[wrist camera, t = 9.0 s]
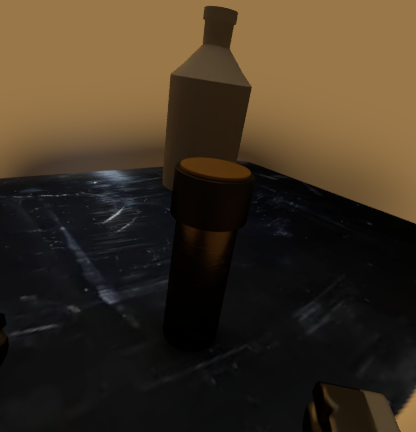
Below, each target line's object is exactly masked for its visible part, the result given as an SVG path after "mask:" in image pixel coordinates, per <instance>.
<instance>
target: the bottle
mask: <svg viewBox="0 0 416 432" xmlns="http://www.w3.org/2000/svg"><path fill="white" fill-rule="evenodd" d="M237 15H238V13H237V12H236V11H234V10H231V9H228V8H223V7H217V6H207V7H205V9H204V17H203V19H204V20H205V27H204V37H203V45H202V46H201V47H200V48H199V49H198V50H197V51H196V52H195V53H194V54H193V55H192V56H191V57H190V58H189V59H188V60H187V61H186V62H185V63H184V64H182V65H181V66H180V67H179V68H178V69H177V70H175V71H174V72H173V73H171V77H170V90H169V104H168V116H167V129H166V141H165V154H164V167H163V180H162V183H163V185H164V186H165V187H166V188H167V189H169V190H171V191H172V189H173V180H174V170H175V165H176V164H177V163H178V162H180V161H182V160H184V159H187V158H195V157H203V158H214V159H220V160H225V161H229V162H233V163H236V162H237V157H238V152H239V147H240V142H241V137H242V132H243V127H244V122H245V117H246V112H247V107H248V103H249V97H250V93H251V88H252V87H251V85H250V84H249V82H248V81H247V79H246V78H245V76H244V75H243V73H242V71H241V69H240V68H239V66H238V64H237V62H236V61H235V58H234V57H233V55H232V53H231V51H230V43H231V38H232V32H233V27H234V25H235V24H236V21H237Z"/></svg>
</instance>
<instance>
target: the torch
mask: <svg viewBox="0 0 416 432" xmlns="http://www.w3.org/2000/svg"><path fill="white" fill-rule="evenodd" d="M254 183H255V176H254V174H252V173H251V172H250V171H249V170H248V169H247V168H245V167H243V166H241V165H239V164H236V163H233V162H229V161H225V160H220V159H214V158H203V157H195V158H187V159H184V160H182V161H180V162H178V163H177V164H176V165H175V170H174V180H173V189H172V198H171V207H170V212H171V215H172V216H173V217H174V218H175V219H176V222H175V231H174V239H173V247H172V256H171V264H170V273H169V281H168V289H167V298H166V306H165V315H164V323H163V333H164V335H165V337H166V339H167V340H168V341H169V342H170V343H171V344H172V345H174V346H176V347H178V348H180V349H184V350H190V351H194V350H201V349H204V348H206V347H208V346H209V345H210V344H211V343H212V342H213V341H214V339H215V337H216V333H217V328H218V323H219V318H220V313H221V309H222V304H223V299H224V294H225V289H226V284H227V279H228V274H229V269H230V265H231V260H232V255H233V250H234V245H235V240H236V235H237V230H238V229H240V228H242V227H243V226H244V225H245V223H246V220H247V216H248V211H249V206H250V202H251V197H252V192H253V188H254Z"/></svg>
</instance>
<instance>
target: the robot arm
mask: <svg viewBox="0 0 416 432" xmlns="http://www.w3.org/2000/svg"><path fill="white" fill-rule="evenodd" d="M5 325H6V320H5V314H3V313H0V366H1V365H2V363H3V361H4V359H5V357H6V355H7V352H8V346H9V342H8V337H7V336H6V334H5V333H4V332H3V331H2V329H3V328H4V326H5ZM312 393H313V398H314V401H312V402H310V403H308V404H307V407H306V410H305V413H304V419H303V432H401V431H400V429H399V427H398V425H397V422H396V420H395V418H394V415H393V413H392V411H391V408H390V406H389V404H388V401H387V399H386V398H385V397H384V396H383V394H379V393H374V392H369V391H365V390H359V389H355V388H350V387H346V386H341V385H336V384H331V383H326V382H321V381H318V382H317V383H316V384H315V386H314V388H313V391H312Z"/></svg>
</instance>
